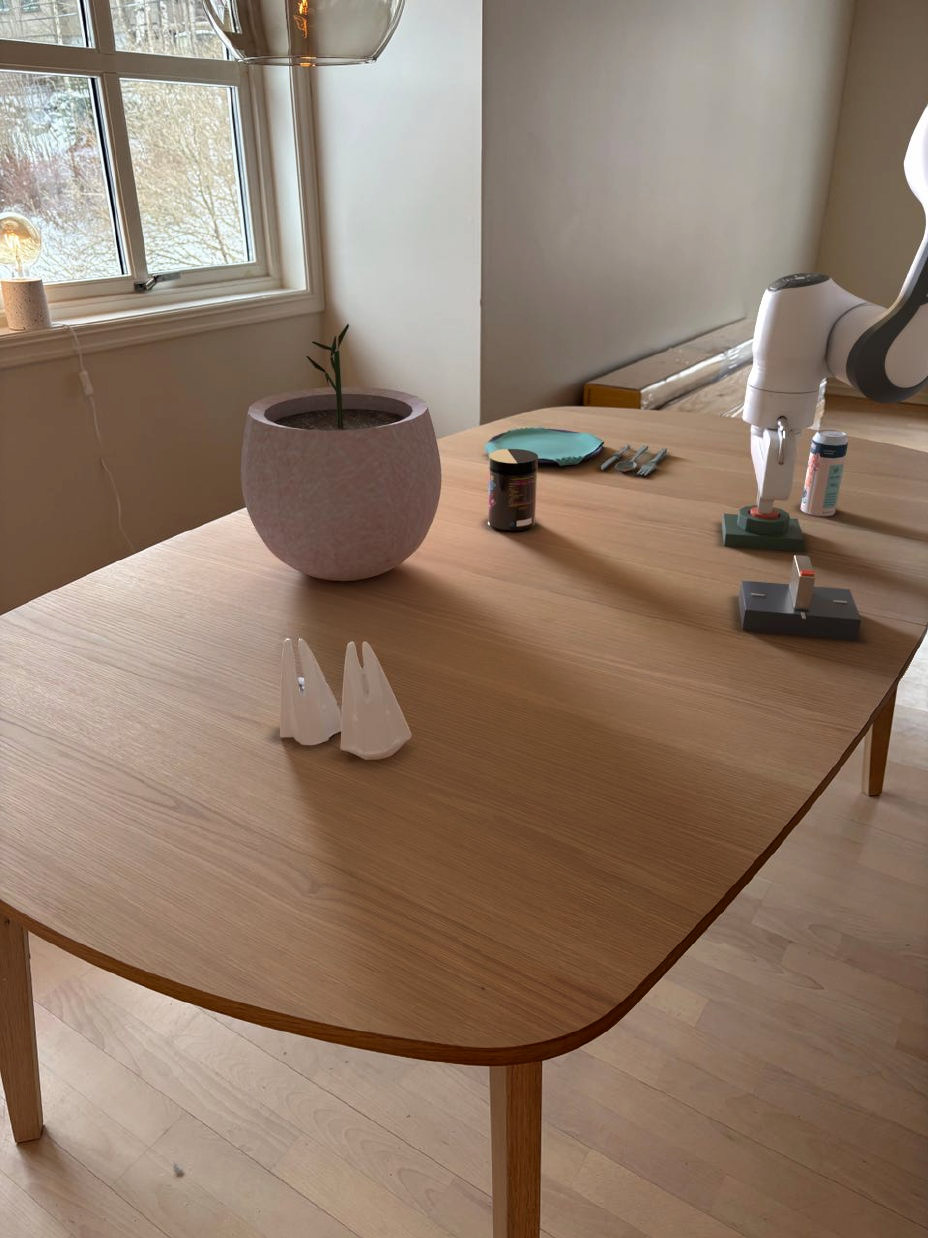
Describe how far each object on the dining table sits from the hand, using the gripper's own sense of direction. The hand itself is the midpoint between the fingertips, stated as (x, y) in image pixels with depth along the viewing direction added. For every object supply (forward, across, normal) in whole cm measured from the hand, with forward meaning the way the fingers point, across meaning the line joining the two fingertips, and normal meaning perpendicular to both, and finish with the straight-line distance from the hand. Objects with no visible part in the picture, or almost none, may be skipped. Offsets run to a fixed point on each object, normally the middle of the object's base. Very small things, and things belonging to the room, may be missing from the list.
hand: (763, 510), depth 128 cm
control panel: (+4, -25, -2) cm, 26 cm away
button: (+2, 0, 0) cm, 2 cm away
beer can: (+4, +13, -9) cm, 16 cm away
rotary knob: (+1, -25, -2) cm, 25 cm away
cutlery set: (+5, +33, +29) cm, 44 cm away
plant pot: (+5, -21, +52) cm, 56 cm away
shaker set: (+5, -59, +40) cm, 72 cm away
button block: (+4, 0, 0) cm, 4 cm away
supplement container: (+5, -2, +34) cm, 34 cm away
